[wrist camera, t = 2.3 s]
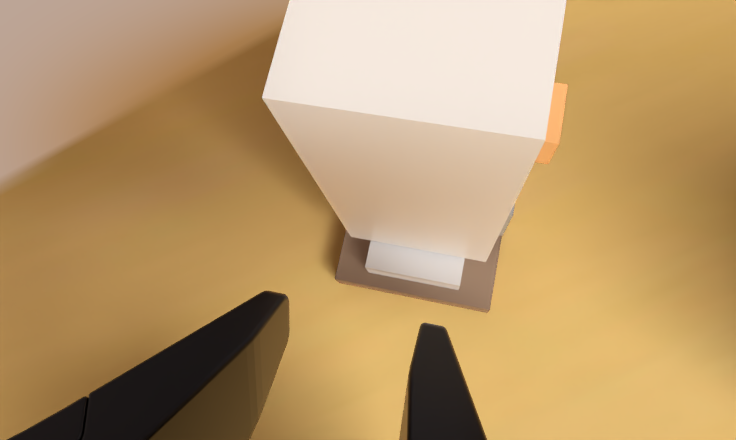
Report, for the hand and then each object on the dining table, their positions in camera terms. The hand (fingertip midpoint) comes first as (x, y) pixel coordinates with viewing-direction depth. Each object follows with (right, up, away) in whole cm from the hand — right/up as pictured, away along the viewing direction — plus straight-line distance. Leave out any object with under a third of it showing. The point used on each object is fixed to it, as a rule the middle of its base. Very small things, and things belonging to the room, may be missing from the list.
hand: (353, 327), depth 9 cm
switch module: (+2, +2, +11) cm, 12 cm away
